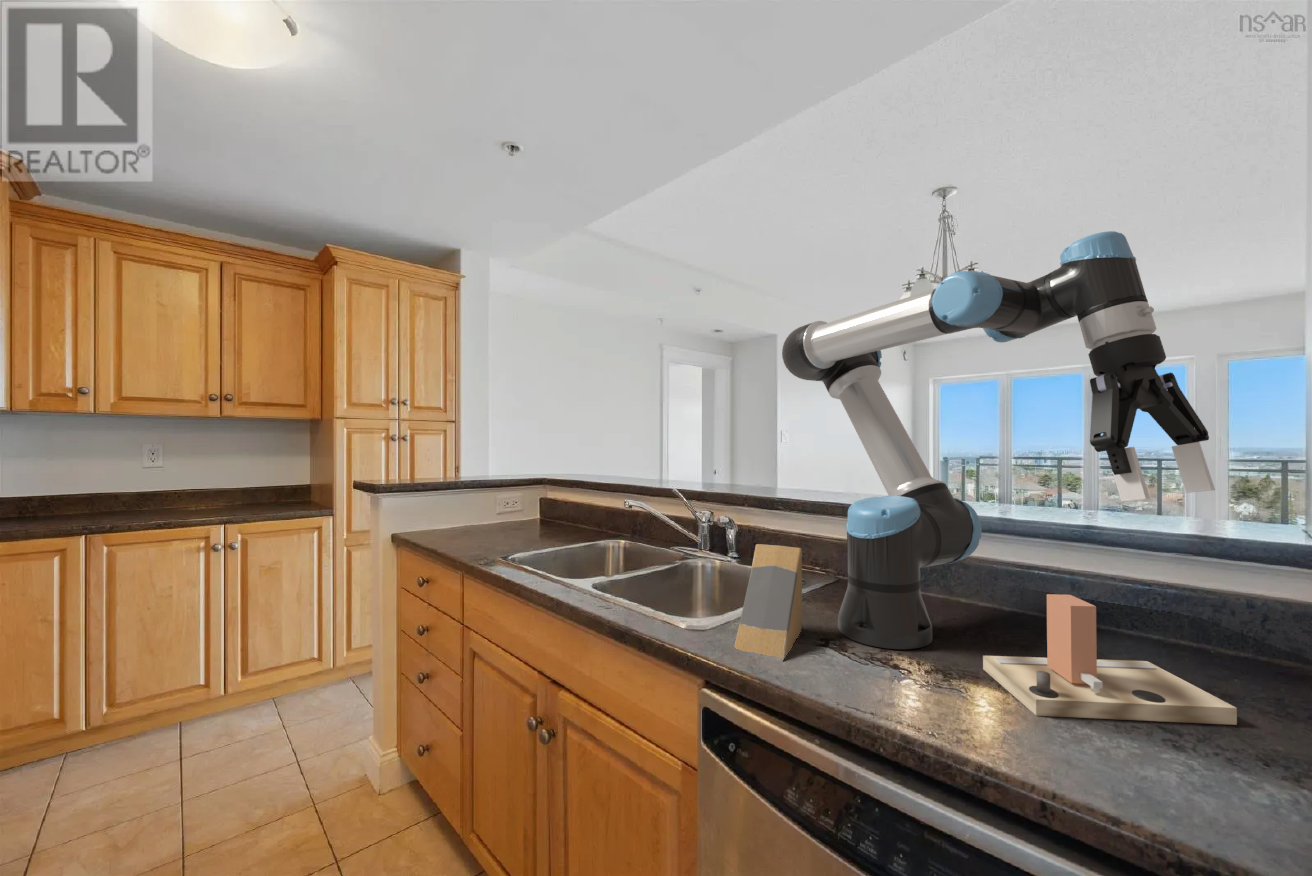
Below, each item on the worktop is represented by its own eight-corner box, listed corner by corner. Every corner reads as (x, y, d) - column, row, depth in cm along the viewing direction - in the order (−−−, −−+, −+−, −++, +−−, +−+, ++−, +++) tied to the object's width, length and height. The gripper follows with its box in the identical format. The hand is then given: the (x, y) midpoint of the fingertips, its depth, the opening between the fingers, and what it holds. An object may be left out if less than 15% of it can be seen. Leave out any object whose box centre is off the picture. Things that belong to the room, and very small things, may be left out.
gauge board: (1036, 715, 65) (1035, 679, 65) (983, 669, 78) (982, 639, 78) (1236, 724, 62) (1236, 687, 62) (1147, 675, 75) (1147, 644, 75)
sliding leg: (1084, 692, 65) (1084, 612, 65) (1047, 666, 73) (1046, 594, 73) (1111, 693, 65) (1110, 612, 65) (1070, 667, 72) (1070, 594, 72)
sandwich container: (730, 654, 84) (728, 561, 84) (756, 623, 98) (755, 543, 98) (784, 664, 81) (782, 566, 80) (803, 630, 94) (802, 547, 94)
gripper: (1090, 328, 65) (1141, 500, 61) (1210, 333, 73) (1262, 484, 69) (1031, 351, 72) (1073, 506, 68) (1147, 353, 80) (1191, 492, 76)
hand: (1168, 496), depth 68 cm, fingers open, 13 cm apart
